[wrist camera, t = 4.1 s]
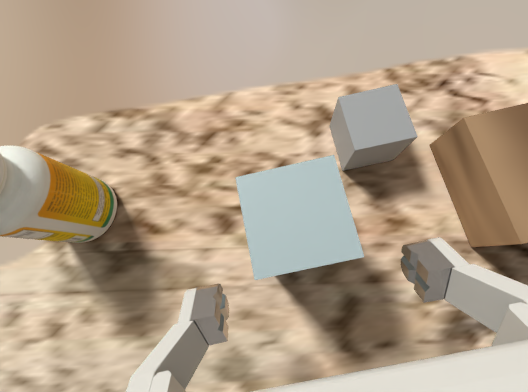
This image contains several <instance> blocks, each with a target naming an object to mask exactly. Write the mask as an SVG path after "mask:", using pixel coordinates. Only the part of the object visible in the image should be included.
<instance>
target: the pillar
mask: <svg viewBox="0 0 528 392" xmlns="http://www.w3.org/2000/svg"><path fill="white" fill-rule="evenodd" d="M236 183H237V188H238V193H239V199H240V204H241V209H242V215H243V220H244V225H245V231H246V236H247V241H248V247H249V252H250V257H251V263H252V268H253V273H254V279H255V280H258V279H263V278H267V277H272V276H277V275H282V274H286V273H291V272H296V271H300V270H305V269H310V268H315V267H319V266H324V265H329V264H334V263H338V262H343V261H348V260H353V259H357V258H362V257H364V254H363V251H362V247H361V244H360V241H359V237H358V234H357V231H356V227H355V224H354V221H353V217H352V214H351V211H350V207H349V204H348V201H347V197H346V194H345V191H344V187H343V184H342V180H341V177H340V174H339V170H338V167H337V164H336V160H335V157H334V155H332V156H327V157H323V158H318V159H314V160H310V161H305V162H301V163H297V164H292V165H288V166H283V167H279V168H275V169H270V170H266V171H261V172H257V173H253V174H248V175H244V176H239V177H236Z"/></svg>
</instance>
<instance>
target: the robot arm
mask: <svg viewBox="0 0 528 392" xmlns="http://www.w3.org/2000/svg"><path fill="white" fill-rule="evenodd" d="M401 252H402V253H403V254H404V256H403V257H402V258H401V268H402V272H403V274H404V276H405V277H406V279H407V280H408V281H410V282H412V283H413V284H415V285H414V290H415V291H416V293H417V294H418V295H419V297H420V298H421V300H422V301H423V302H429V301H435V300H441V299H445V300H446V301H447V302H449V303H450V304H452V305H454V306H455V307H457V308H458V309H460V310H461V311H463V312H465V313H466V314H468V315H469V316H471V317H472V318H474V319H476V320H477V321H479V322H480V323H482V324H484V325H485V326H487V327H488V328H490V329H491V330H493V331H495V332H496V335H495V338H494V340H493V342H492V346H491V347H485V348H480V349H475V350H469V351H464V352H459V353H453V354H448V355H443V356H437V357H432V358H427V359H421V360H416V361H411V362H405V363H400V364H395V365H389V366H384V367H379V368H373V369H368V370H362V371H357V372H352V373H347V374H341V375H336V376H331V377H325V378H320V379H315V380H309V381H304V382H299V383H293V384H288V385H283V386H277V387H272V388H267V389H261V390H256V391H251V392H528V285H525V284H523V283H520V282H518V281H515V280H513V279H510V278H508V277H505V276H503V275H500V274H498V273H495V272H493V271H490V270H488V269H485V268H483V267H480V266H478V265H475V264H469V263H468V262H466V261H465V260H464V259H463V258H462V257H461V256H460V255H459V254H458V253H457V252H456V251H455V250H454V249H453V248H452V247H451V246H449V245H448V244H447V243H446V242H445V241H444V240H443V239H442V238H440V237H438V238H434V239H429V240H424V241H419V242H415V243H410V244H406V245H403V246H402V251H401ZM222 291H223V288H222V286H221V284H215V285H209V286H204V287H198V288H194V289H188V290H186V292H185V294H184V298H183V302H182V306H181V311H180V315H179V319H178V323H177V324H174V325H173V326H172V328H171V329H170V330H169V331H168V332H167V334H166V335H165V336H164V337H163V338H162V340H161V341H160V342H159V343H158V345H157V346H156V347H155V348H154V349H153V351H152V352H151V353H150V354H149V355H148V357H147V358H146V359H145V360H144V362H143V363H142V364H141V365H140V366H139V368H138V369H137V370H136V371H135V373H134V374H133V375H132V376H131V378H130V381H129V384H128V387H127V390H126V392H186V391H185V388H186V387H187V385H188V383H189V381H190V379H191V378H192V376H193V374H194V372H195V370H196V369H197V367H198V365H199V363H200V361H201V360H202V358H203V356H204V354H205V352H206V351H207V349H208V347H209V345H213V344H217V343H222V342H226V341H228V324H227V322H226V320H227V319H228V317H229V305H228V300H227V297H226V295H224V294H222Z"/></svg>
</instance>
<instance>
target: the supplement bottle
mask: <svg viewBox="0 0 528 392" xmlns="http://www.w3.org/2000/svg"><path fill="white" fill-rule="evenodd" d="M116 210H117V199H116V195H115V193H114V191H113V189H112V188H111V187H110V186H109V185H108V184H107V183H105V182H104V181H101V180H99V179H97V178H95V177H93V176H90V175H88V174H86V173H84V172H81V171H79V170H77V169H74V168H72V167H70V166H67V165H65V164H62V163H60V162H58V161H56V160H53V159H51V158H49V157H46V156H44V155H42V154H39V153H37V152H35V151H33V150H30V149H27V148H24V147H19V146H0V236H2V237H15V238H26V239H38V240H49V241H61V242H75V243H82V242H88V241H91V240H94V239H96V238H98V237H99V236H101V235H102V234H103V233H105V232H106V231H107V229H108V228H109V227H110V226H111V224H112V222H113V220H114V218H115V214H116Z"/></svg>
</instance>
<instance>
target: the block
mask: <svg viewBox="0 0 528 392" xmlns="http://www.w3.org/2000/svg"><path fill="white" fill-rule="evenodd" d="M330 130H331V133H332V137H333V140H334V143H335V147H336V150H337V154H338V157H339V161H340V164H341V167H342V171H344V170H349V169H354V168H358V167H363V166H368V165H372V164H377V163H382V162H386V161H391V160H394V159H395V158H396V157H397V156H398V155H399V154H400V153H401V152H402V151H403V150H404V149H405V148H406V147H407V146H408V145H409V144H410V143H412V142H413V141H414V140H415V139H416V138H417V134H416V131H415V129H414V126H413V124H412V121H411V119H410V116H409V113H408V111H407V108H406V106H405V103H404V100H403V98H402V95H401V93H400V90H399V88H398V85H397V84H395V85H390V86H386V87H382V88H377V89H373V90H369V91H364V92H360V93H355V94H351V95H347V96H342V97H338V100H337V104H336V107H335V110H334V113H333V117H332V120H331V123H330Z"/></svg>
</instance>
